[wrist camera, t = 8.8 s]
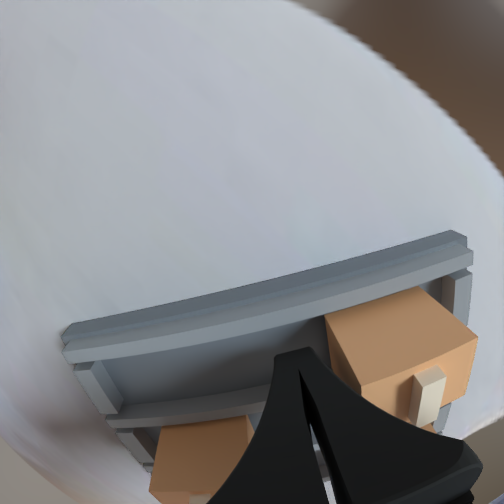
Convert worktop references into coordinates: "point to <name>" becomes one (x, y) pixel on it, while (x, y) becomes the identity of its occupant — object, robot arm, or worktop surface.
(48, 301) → the worktop surface
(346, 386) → the robot arm
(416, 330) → the orange box
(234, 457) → the tan box with strip
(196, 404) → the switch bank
